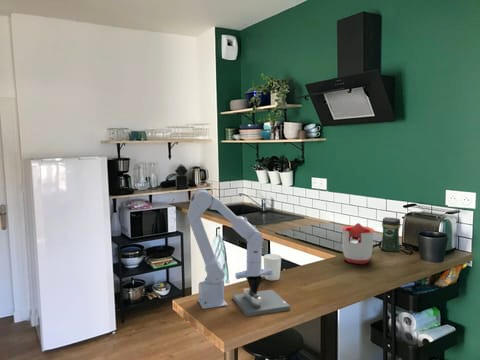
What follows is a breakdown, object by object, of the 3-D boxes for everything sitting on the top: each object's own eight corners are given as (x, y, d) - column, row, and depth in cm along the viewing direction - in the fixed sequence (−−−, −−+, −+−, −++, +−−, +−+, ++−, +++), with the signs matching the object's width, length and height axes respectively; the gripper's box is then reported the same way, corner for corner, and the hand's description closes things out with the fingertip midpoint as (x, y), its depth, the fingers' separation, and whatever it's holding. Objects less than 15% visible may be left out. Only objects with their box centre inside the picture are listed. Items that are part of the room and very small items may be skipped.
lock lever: (263, 306, 143) (263, 298, 142) (253, 308, 141) (254, 299, 141) (250, 294, 154) (250, 286, 154) (241, 295, 153) (241, 287, 152)
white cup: (259, 277, 177) (260, 256, 176) (271, 273, 183) (271, 252, 182) (273, 282, 172) (273, 260, 171) (284, 278, 177) (284, 256, 176)
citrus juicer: (337, 263, 198) (338, 225, 196) (345, 254, 213) (346, 218, 211) (369, 268, 190) (370, 228, 188) (375, 259, 206) (376, 221, 204)
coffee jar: (400, 249, 223) (402, 217, 221) (397, 253, 217) (398, 220, 215) (383, 246, 229) (384, 215, 227) (379, 250, 222) (380, 218, 220)
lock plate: (247, 316, 139) (247, 300, 138) (232, 298, 154) (232, 283, 154) (290, 309, 145) (290, 293, 144) (272, 293, 160) (272, 278, 159)
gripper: (267, 255, 157) (266, 288, 159) (233, 259, 152) (232, 292, 154) (274, 261, 150) (274, 295, 152) (238, 265, 146) (238, 300, 147)
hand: (253, 294), depth 152 cm, fingers closed
